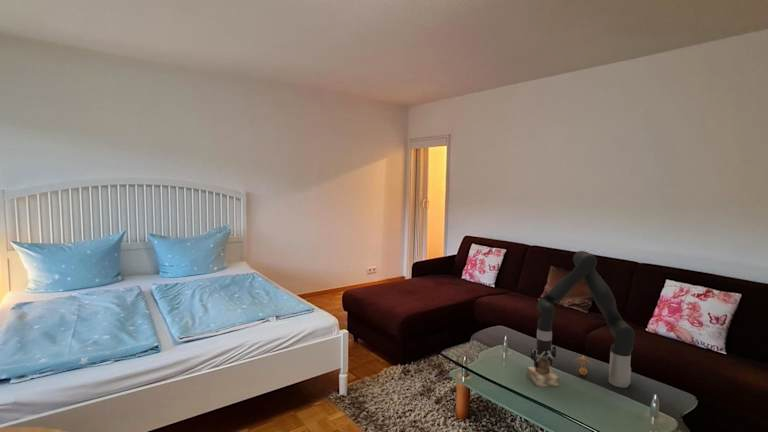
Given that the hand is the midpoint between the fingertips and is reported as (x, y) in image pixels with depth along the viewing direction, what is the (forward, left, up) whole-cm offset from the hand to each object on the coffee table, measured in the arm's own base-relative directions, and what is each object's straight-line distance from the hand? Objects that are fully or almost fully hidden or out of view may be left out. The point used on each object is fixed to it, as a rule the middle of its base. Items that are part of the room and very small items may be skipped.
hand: (543, 366), depth 211 cm
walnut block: (0, 0, -3) cm, 3 cm away
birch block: (0, 0, -8) cm, 8 cm away
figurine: (-24, +3, -8) cm, 26 cm away
